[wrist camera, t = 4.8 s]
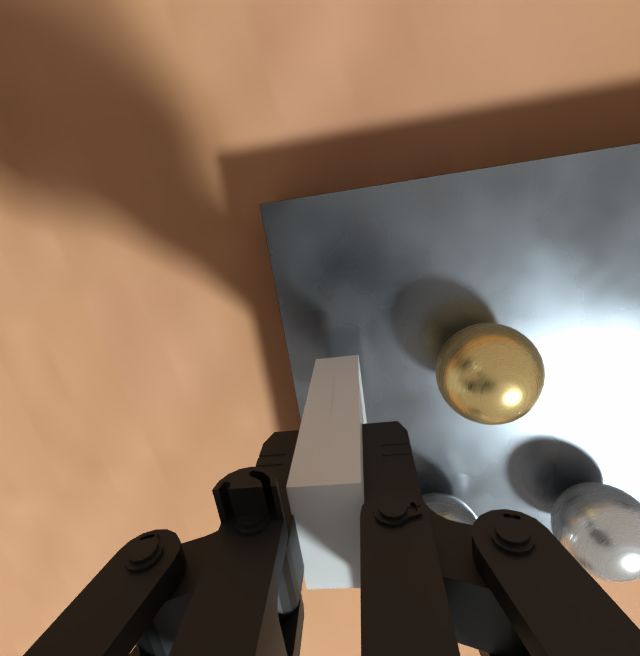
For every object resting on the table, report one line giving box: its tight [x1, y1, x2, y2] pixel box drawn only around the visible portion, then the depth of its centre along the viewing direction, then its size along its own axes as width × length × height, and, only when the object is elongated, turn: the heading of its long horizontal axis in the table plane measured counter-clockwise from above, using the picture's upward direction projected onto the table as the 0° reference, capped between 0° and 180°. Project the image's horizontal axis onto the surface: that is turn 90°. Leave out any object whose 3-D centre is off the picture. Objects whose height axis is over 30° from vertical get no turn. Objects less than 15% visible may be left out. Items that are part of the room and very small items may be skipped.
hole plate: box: [260, 143, 640, 534], centre depth 17 cm, size 17×24×3 cm
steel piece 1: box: [422, 493, 477, 525], centre depth 16 cm, size 3×3×3 cm
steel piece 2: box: [551, 482, 640, 583], centre depth 15 cm, size 3×3×3 cm
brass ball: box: [436, 323, 546, 425], centre depth 14 cm, size 3×3×3 cm
